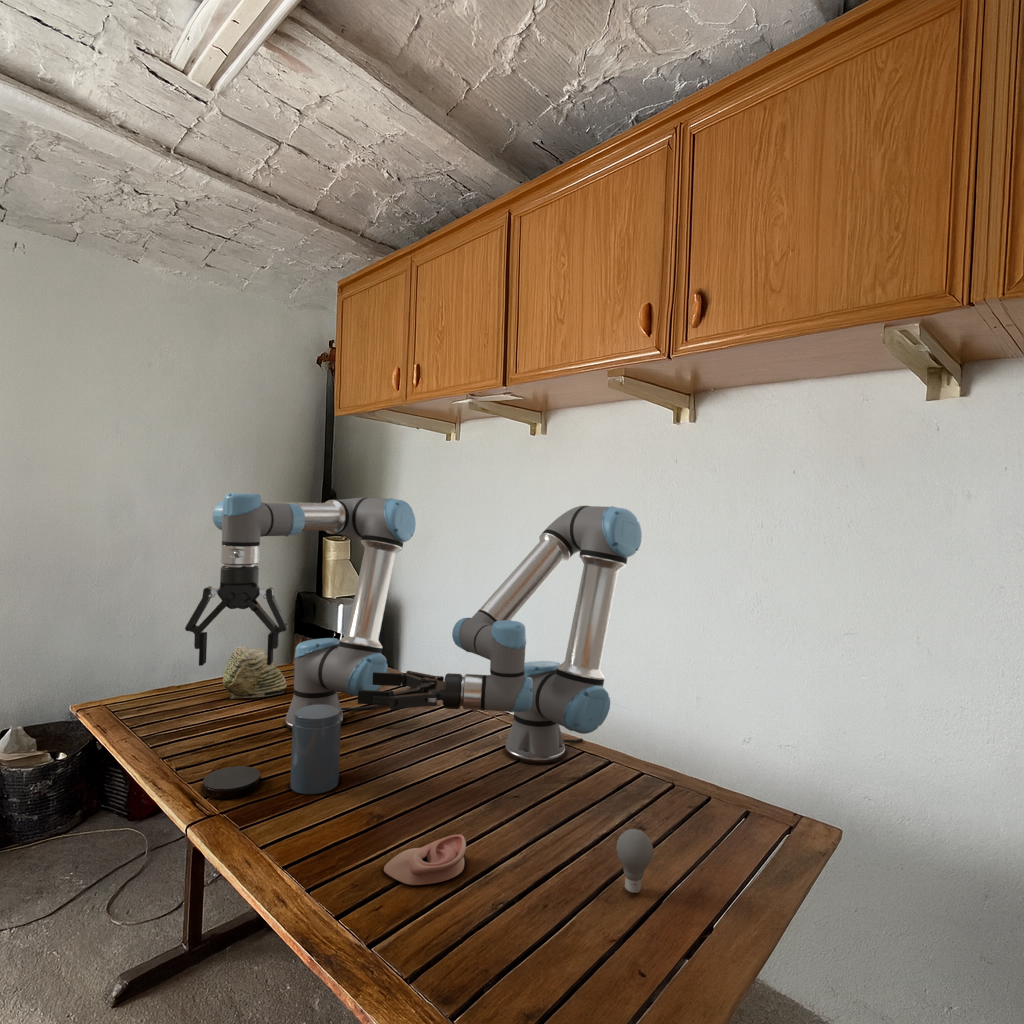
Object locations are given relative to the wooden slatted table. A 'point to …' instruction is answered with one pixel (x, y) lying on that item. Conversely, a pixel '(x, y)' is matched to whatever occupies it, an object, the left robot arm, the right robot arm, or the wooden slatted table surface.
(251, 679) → the fossil
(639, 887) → the light bulb
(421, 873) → the anatomical model
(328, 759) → the jar
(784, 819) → the wooden slatted table surface
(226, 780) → the lid
